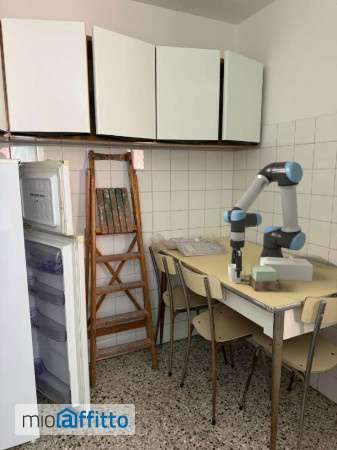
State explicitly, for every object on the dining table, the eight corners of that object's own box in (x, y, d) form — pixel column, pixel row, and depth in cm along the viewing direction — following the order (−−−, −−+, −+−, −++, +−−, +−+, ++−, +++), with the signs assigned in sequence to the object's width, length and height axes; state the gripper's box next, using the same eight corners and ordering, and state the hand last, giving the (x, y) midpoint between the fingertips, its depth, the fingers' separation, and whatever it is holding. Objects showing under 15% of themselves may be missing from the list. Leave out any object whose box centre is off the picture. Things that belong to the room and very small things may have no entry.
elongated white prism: (311, 281, 166) (313, 261, 164) (263, 279, 169) (265, 259, 167) (303, 273, 180) (305, 254, 178) (259, 271, 183) (260, 253, 181)
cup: (224, 278, 169) (225, 264, 168) (241, 277, 171) (242, 263, 170) (229, 282, 162) (230, 267, 161) (247, 281, 164) (248, 266, 163)
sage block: (269, 274, 161) (270, 265, 160) (276, 281, 151) (276, 271, 150) (250, 274, 161) (251, 265, 160) (256, 281, 151) (256, 271, 150)
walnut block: (271, 283, 162) (272, 274, 161) (279, 292, 150) (280, 282, 149) (249, 283, 162) (249, 274, 161) (254, 291, 150) (255, 282, 150)
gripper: (226, 235, 175) (225, 272, 178) (234, 244, 152) (232, 286, 155) (240, 235, 174) (238, 273, 178) (249, 244, 152) (247, 287, 155)
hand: (235, 279), depth 167 cm, fingers open, 10 cm apart
